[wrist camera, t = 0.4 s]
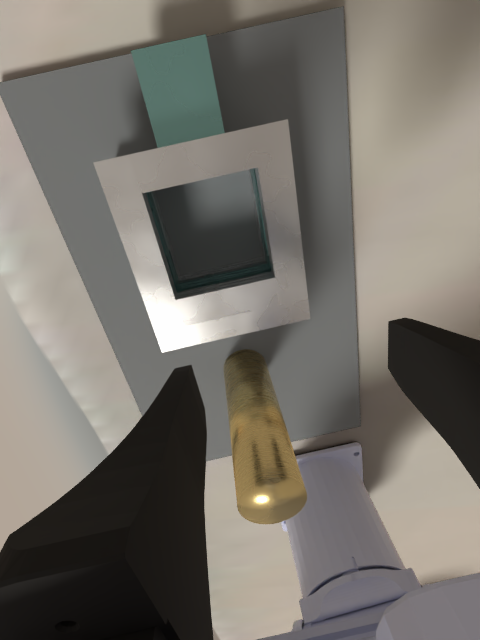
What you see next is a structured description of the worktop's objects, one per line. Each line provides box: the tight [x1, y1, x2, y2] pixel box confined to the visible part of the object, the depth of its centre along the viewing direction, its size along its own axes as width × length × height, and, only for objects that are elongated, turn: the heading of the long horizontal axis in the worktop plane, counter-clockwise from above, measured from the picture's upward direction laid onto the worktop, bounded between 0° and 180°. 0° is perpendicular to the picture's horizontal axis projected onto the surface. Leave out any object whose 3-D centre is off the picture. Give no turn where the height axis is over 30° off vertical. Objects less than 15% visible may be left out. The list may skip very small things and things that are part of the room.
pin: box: [223, 349, 307, 524], centre depth 19 cm, size 3×3×10 cm
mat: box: [0, 6, 361, 461], centre depth 21 cm, size 26×16×1 cm, turn 11°
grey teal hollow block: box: [93, 34, 310, 352], centre depth 16 cm, size 13×8×4 cm, turn 11°
